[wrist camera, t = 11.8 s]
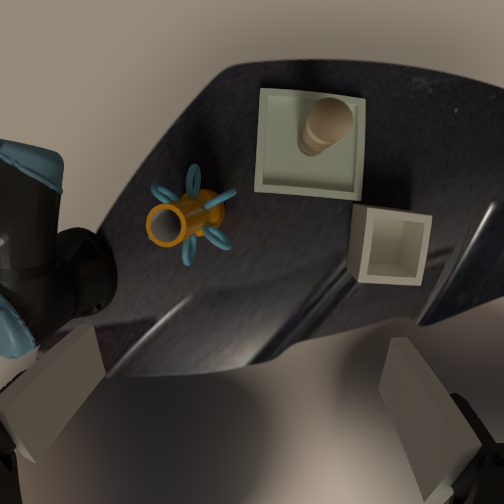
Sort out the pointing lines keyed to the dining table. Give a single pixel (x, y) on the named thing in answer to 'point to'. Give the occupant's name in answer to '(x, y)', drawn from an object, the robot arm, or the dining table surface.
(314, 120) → the dowel
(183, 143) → the dining table surface
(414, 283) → the hollow square block
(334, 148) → the tray
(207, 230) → the tube with teal loops
